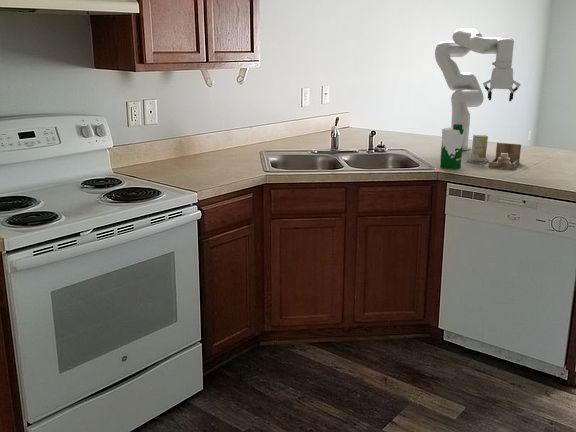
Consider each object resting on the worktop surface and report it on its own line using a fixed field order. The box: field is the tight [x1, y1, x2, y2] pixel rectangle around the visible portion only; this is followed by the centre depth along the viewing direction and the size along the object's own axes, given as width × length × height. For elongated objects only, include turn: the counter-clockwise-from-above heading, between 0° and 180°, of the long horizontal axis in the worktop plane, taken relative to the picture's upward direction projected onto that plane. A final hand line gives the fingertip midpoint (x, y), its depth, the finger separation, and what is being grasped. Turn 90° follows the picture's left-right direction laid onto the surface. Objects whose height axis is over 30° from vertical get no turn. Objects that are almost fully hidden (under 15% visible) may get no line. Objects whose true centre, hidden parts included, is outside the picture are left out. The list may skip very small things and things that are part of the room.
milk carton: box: [439, 124, 465, 170], centre depth 282 cm, size 9×9×20 cm
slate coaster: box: [465, 157, 490, 165], centre depth 298 cm, size 9×9×1 cm
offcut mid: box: [498, 157, 511, 164], centre depth 285 cm, size 5×4×2 cm
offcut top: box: [501, 153, 509, 159], centre depth 285 cm, size 3×3×2 cm
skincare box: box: [470, 134, 489, 161], centre depth 297 cm, size 6×4×12 cm
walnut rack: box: [488, 142, 522, 170], centre depth 289 cm, size 11×18×9 cm, turn 153°
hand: (499, 100), depth 301 cm, fingers open, 9 cm apart
